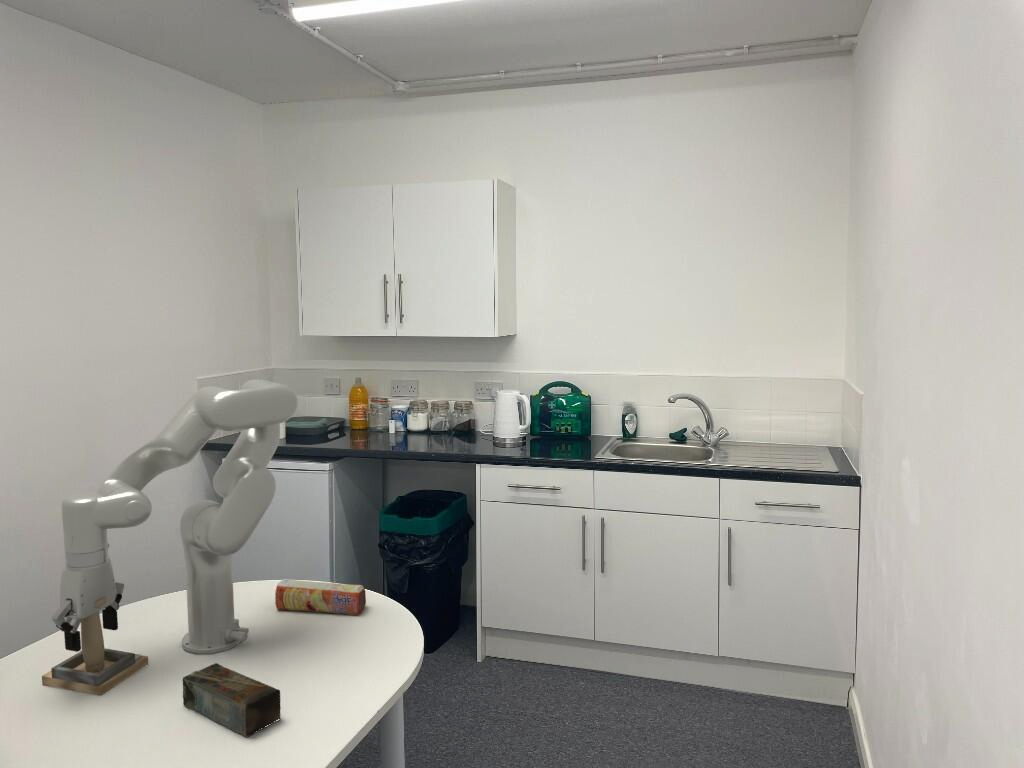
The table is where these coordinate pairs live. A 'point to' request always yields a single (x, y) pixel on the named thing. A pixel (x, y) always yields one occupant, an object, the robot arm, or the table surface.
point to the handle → (93, 640)
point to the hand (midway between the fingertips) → (92, 639)
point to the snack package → (320, 597)
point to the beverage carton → (231, 699)
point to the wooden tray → (98, 683)
